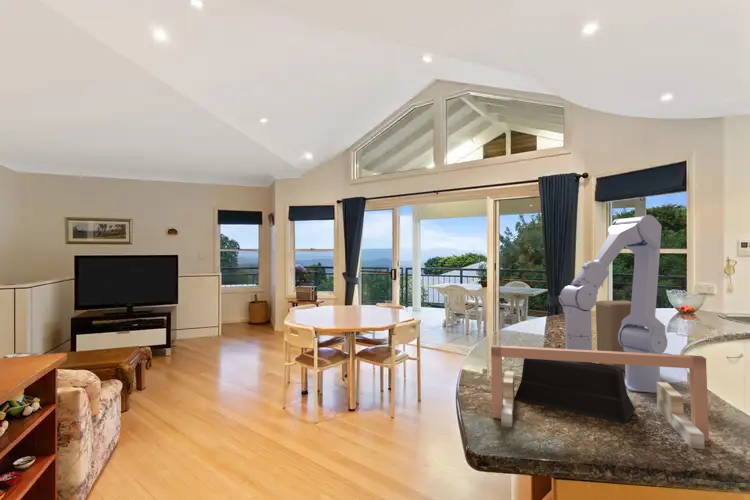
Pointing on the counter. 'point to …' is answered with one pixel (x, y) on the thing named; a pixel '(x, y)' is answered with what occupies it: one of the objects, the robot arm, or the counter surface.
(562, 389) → the barrier
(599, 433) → the counter surface
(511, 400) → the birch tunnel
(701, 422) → the arch
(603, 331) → the wooden block
